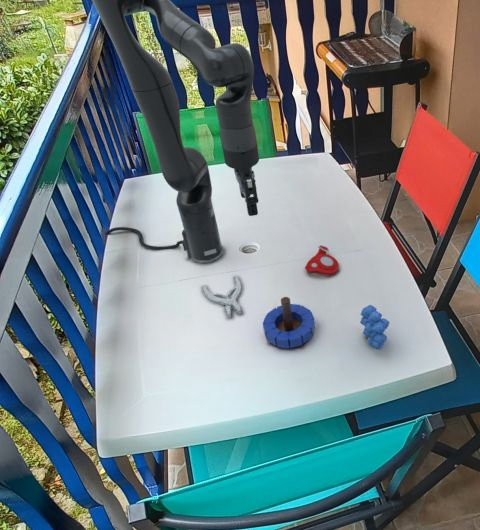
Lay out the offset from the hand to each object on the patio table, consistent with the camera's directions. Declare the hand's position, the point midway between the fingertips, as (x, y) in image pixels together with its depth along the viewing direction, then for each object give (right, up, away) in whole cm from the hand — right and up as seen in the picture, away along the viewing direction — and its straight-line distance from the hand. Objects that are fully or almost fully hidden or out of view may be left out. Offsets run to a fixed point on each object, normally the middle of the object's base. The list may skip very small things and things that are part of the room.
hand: (249, 205), depth 119 cm
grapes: (+31, -34, +4) cm, 46 cm away
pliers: (-10, -24, +16) cm, 30 cm away
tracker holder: (+15, -15, +27) cm, 34 cm away
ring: (+9, -30, +6) cm, 32 cm away
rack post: (+9, -32, +6) cm, 33 cm away
